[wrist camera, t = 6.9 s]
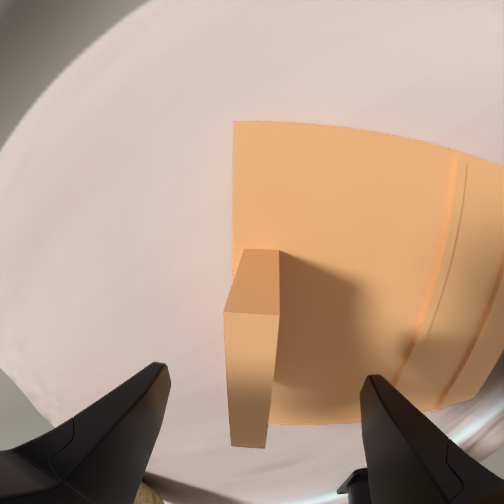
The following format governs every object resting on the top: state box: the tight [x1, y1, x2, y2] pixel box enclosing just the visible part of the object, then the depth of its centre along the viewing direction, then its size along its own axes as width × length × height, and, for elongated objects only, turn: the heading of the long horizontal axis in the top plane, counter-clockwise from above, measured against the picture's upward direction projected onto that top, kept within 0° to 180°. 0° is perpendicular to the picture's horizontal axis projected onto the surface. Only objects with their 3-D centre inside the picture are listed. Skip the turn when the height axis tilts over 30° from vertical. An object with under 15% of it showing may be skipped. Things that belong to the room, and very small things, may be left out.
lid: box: [223, 121, 504, 449], centre depth 9 cm, size 15×17×5 cm
